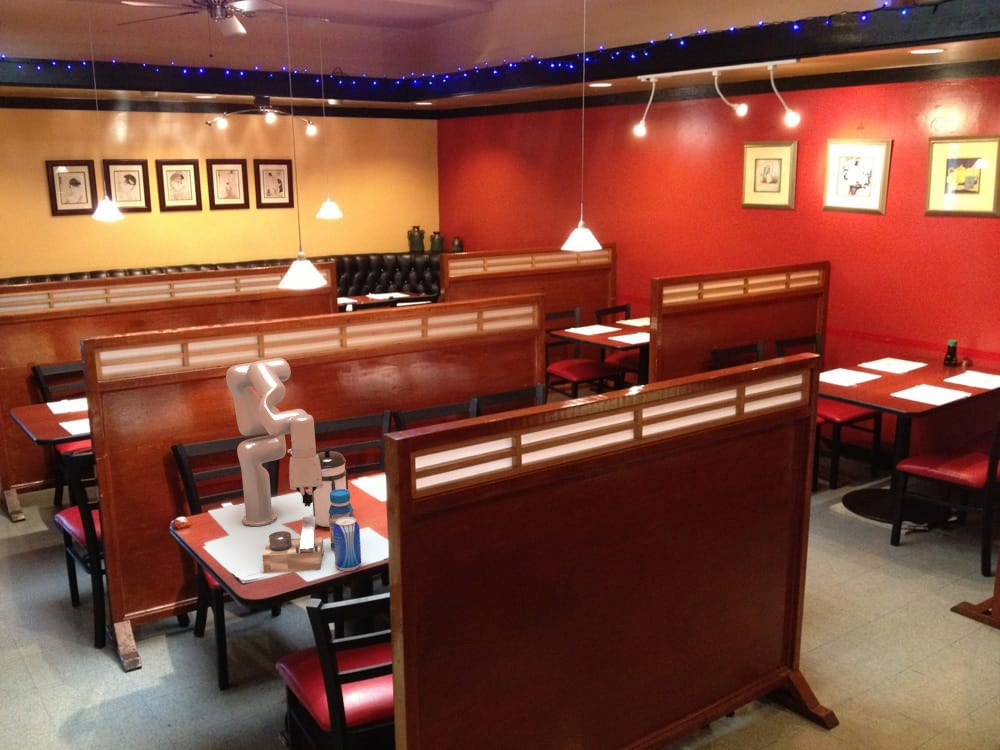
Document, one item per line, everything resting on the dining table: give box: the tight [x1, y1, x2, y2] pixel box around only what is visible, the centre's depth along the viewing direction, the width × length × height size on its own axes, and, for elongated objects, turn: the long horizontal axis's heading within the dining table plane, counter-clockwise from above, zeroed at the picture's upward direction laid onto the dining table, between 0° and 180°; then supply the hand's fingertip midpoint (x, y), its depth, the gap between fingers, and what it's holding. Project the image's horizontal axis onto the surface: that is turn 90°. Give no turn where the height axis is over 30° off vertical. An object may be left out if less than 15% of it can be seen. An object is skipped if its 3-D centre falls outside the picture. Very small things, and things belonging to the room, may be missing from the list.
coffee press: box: [312, 446, 349, 529], centre depth 308 cm, size 17×16×30 cm
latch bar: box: [300, 516, 316, 553], centre depth 277 cm, size 14×4×2 cm
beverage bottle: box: [329, 489, 355, 550], centre depth 289 cm, size 8×8×20 cm
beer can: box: [333, 517, 362, 572], centre depth 274 cm, size 8×8×16 cm
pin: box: [268, 530, 292, 551], centre depth 277 cm, size 7×7×10 cm
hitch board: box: [262, 536, 325, 574], centre depth 278 cm, size 12×18×8 cm, turn 96°
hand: (307, 504), depth 279 cm, fingers closed
